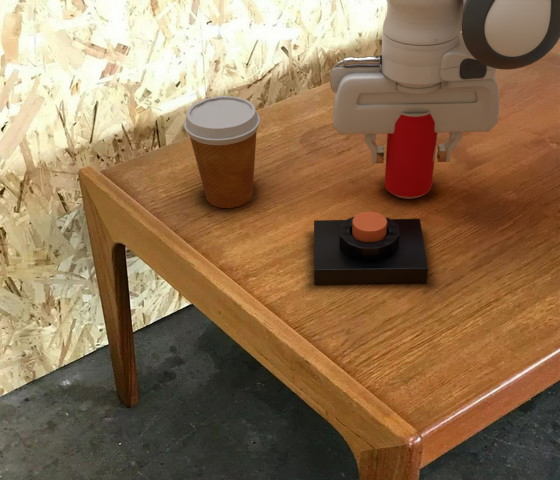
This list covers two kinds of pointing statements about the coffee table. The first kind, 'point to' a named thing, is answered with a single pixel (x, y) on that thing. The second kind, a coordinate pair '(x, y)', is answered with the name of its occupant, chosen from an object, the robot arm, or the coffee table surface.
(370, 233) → the button
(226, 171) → the disposable coffee cup
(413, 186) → the beverage can
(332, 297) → the coffee table surface
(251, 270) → the coffee table surface
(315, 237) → the housing
